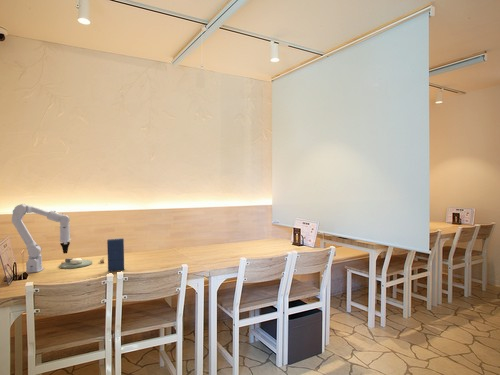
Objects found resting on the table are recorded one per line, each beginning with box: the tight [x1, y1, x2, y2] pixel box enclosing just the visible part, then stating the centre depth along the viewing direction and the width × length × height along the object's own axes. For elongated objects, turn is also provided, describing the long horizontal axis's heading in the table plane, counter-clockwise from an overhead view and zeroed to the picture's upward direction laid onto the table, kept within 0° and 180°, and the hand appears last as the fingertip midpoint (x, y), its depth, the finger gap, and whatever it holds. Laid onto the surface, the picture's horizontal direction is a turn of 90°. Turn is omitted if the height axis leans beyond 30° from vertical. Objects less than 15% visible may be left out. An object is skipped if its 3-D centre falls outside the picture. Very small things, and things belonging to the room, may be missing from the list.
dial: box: [64, 257, 83, 264], centre depth 220 cm, size 11×7×3 cm, turn 85°
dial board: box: [58, 259, 93, 270], centre depth 220 cm, size 20×20×2 cm
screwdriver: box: [99, 257, 105, 264], centre depth 229 cm, size 12×2×2 cm, turn 22°
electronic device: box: [106, 237, 125, 273], centre depth 204 cm, size 10×5×20 cm, turn 109°
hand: (65, 253), depth 215 cm, fingers closed
